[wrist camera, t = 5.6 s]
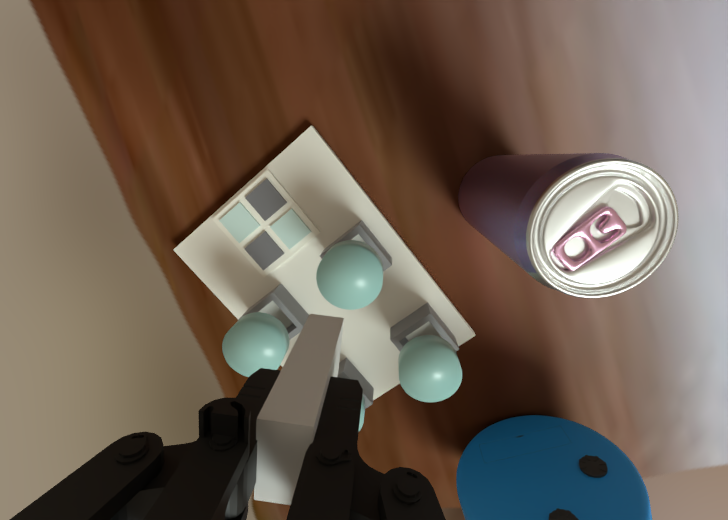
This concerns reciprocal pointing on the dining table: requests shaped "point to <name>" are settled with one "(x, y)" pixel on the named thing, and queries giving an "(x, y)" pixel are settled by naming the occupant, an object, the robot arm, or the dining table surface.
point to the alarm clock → (548, 474)
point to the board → (304, 253)
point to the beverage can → (573, 218)
